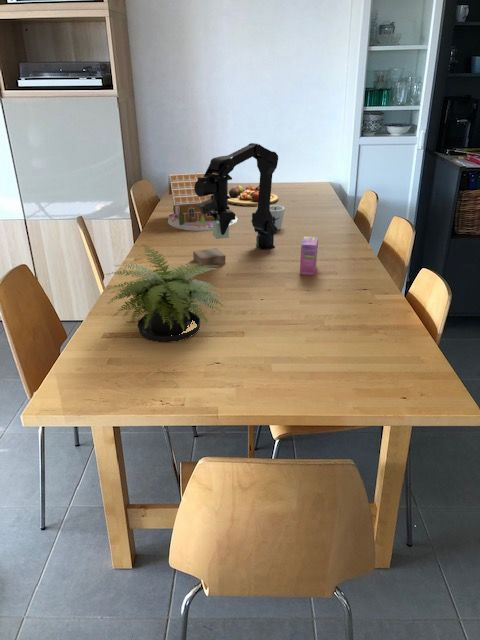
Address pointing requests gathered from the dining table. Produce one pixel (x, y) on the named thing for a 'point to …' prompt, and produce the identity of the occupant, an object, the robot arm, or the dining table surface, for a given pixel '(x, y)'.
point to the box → (308, 255)
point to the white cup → (277, 215)
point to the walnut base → (209, 257)
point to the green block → (217, 230)
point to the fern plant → (166, 299)
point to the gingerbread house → (188, 203)
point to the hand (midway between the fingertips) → (220, 232)
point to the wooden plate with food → (247, 196)
